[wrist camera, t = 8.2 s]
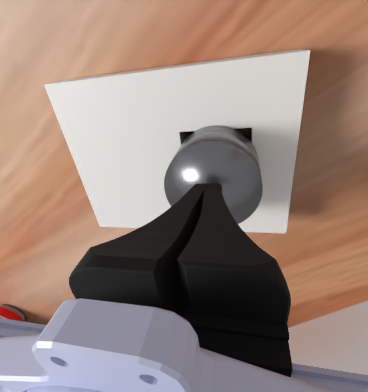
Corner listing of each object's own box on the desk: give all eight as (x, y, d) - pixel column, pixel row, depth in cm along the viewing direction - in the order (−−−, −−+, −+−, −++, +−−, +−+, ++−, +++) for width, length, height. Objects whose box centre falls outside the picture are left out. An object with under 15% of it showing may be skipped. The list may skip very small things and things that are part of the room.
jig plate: (280, 210, 20) (285, 233, 18) (114, 207, 24) (99, 226, 22) (298, 49, 14) (310, 50, 12) (71, 79, 18) (43, 84, 16)
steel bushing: (255, 181, 19) (261, 229, 14) (188, 183, 21) (172, 227, 16) (257, 110, 16) (264, 139, 11) (179, 118, 18) (155, 147, 13)
